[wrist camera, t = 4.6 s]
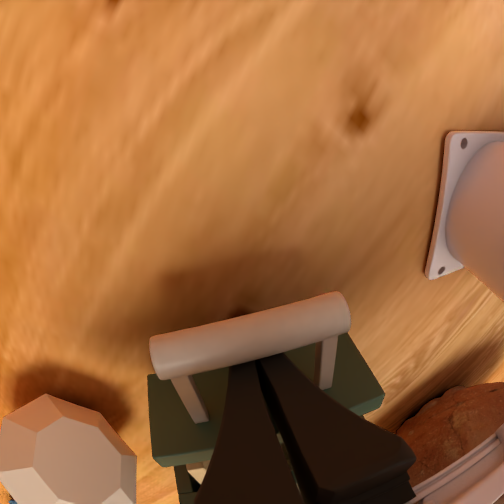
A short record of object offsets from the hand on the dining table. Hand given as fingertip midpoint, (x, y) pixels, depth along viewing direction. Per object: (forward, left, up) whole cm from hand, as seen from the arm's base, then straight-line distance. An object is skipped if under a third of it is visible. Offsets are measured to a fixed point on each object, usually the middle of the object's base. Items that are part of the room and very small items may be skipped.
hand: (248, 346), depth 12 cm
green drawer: (0, +6, -1) cm, 6 cm away
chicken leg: (+15, +9, -2) cm, 17 cm away
